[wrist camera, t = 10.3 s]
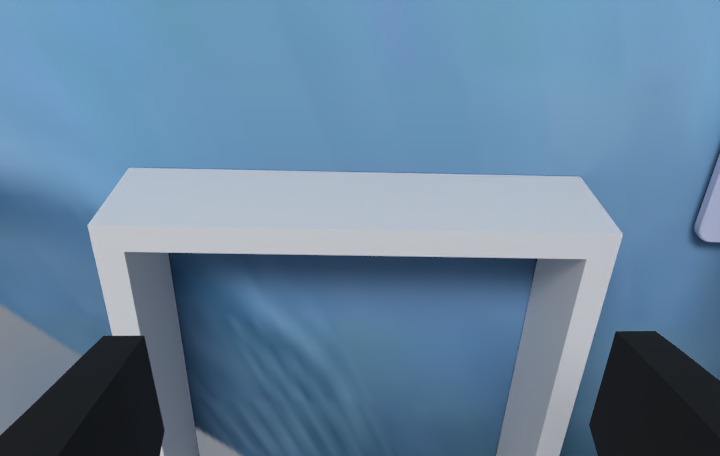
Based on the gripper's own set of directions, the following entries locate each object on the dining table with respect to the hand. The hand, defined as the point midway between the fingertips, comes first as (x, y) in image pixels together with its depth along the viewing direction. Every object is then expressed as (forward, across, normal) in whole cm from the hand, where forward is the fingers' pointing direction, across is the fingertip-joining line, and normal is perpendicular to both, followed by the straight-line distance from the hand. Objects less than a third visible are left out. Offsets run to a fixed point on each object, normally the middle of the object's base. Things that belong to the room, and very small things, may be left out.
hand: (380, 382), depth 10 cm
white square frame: (+10, 0, +8) cm, 13 cm away
